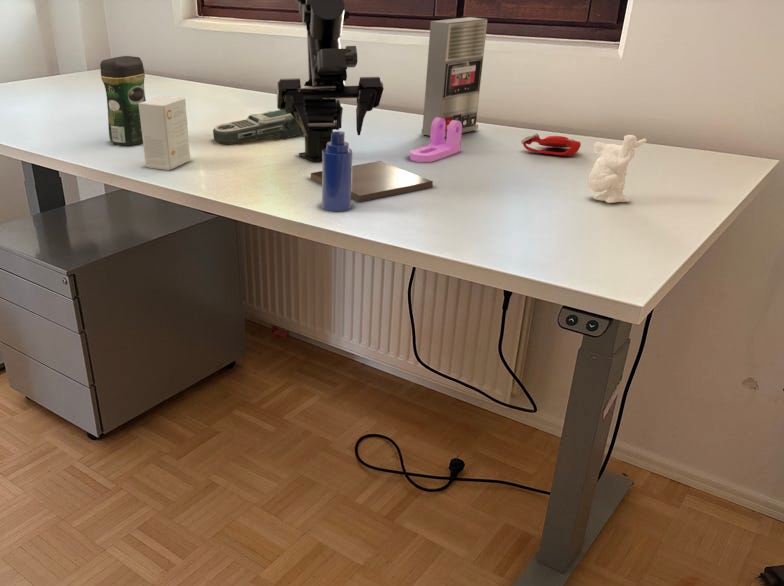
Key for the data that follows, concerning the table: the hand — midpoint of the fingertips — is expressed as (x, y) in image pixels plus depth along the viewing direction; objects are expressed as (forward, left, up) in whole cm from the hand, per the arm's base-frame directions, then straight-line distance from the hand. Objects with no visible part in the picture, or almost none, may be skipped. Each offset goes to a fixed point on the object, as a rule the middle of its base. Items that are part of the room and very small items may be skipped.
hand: (333, 134), depth 131 cm
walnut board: (-4, +11, -11) cm, 17 cm away
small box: (-37, -17, -12) cm, 43 cm away
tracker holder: (-2, +59, -12) cm, 60 cm away
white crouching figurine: (+28, +42, -12) cm, 51 cm away
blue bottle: (+5, -2, -11) cm, 13 cm away
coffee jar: (-60, -17, -12) cm, 64 cm away
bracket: (-13, +35, -12) cm, 39 cm away
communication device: (-48, +11, -12) cm, 51 cm away
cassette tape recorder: (-27, +52, -12) cm, 60 cm away
